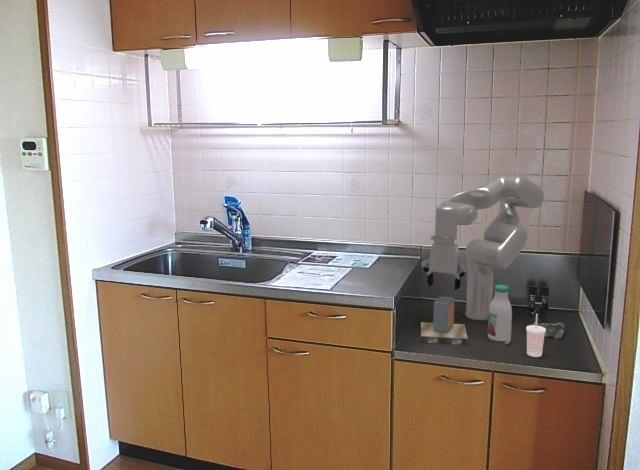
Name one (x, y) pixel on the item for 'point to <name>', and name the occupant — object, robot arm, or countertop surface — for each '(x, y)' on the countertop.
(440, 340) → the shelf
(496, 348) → the countertop surface
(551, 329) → the egg carton
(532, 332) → the beverage cup
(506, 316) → the milk bottle
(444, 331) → the carton
